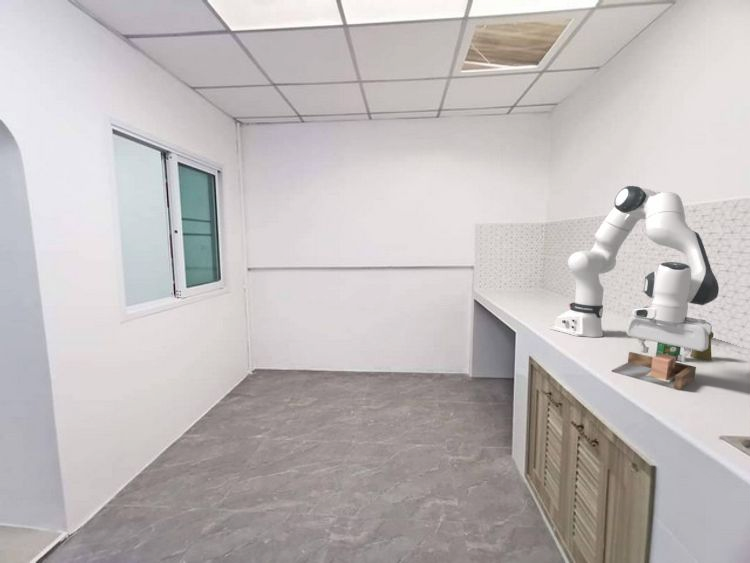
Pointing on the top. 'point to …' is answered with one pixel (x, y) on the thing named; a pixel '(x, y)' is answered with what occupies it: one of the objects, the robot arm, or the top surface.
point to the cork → (703, 354)
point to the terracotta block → (663, 366)
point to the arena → (642, 370)
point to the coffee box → (668, 349)
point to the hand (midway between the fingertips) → (662, 356)
